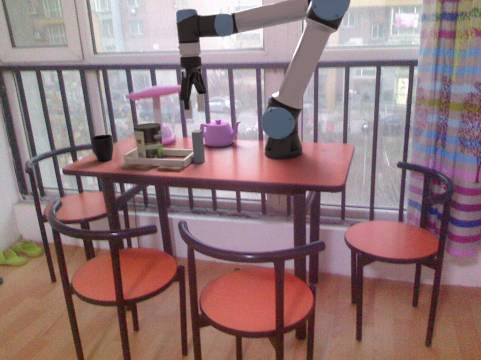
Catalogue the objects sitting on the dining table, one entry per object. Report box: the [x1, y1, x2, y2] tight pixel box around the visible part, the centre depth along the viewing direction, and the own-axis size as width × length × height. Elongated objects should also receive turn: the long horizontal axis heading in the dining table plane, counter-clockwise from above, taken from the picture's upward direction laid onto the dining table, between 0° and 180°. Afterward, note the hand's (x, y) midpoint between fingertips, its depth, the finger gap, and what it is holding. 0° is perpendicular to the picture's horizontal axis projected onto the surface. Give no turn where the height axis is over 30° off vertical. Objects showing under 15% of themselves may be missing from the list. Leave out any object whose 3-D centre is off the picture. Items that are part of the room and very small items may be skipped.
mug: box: [90, 133, 114, 163], centre depth 172 cm, size 8×12×10 cm
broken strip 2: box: [157, 165, 185, 172], centre depth 156 cm, size 9×3×1 cm, turn 75°
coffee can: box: [133, 122, 165, 159], centre depth 166 cm, size 10×10×14 cm
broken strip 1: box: [122, 164, 154, 171], centre depth 159 cm, size 11×3×1 cm, turn 75°
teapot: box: [199, 118, 241, 148], centre depth 186 cm, size 13×20×11 cm
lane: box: [123, 129, 206, 168], centre depth 165 cm, size 30×15×12 cm, turn 75°
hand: (195, 114), depth 157 cm, fingers open, 13 cm apart
